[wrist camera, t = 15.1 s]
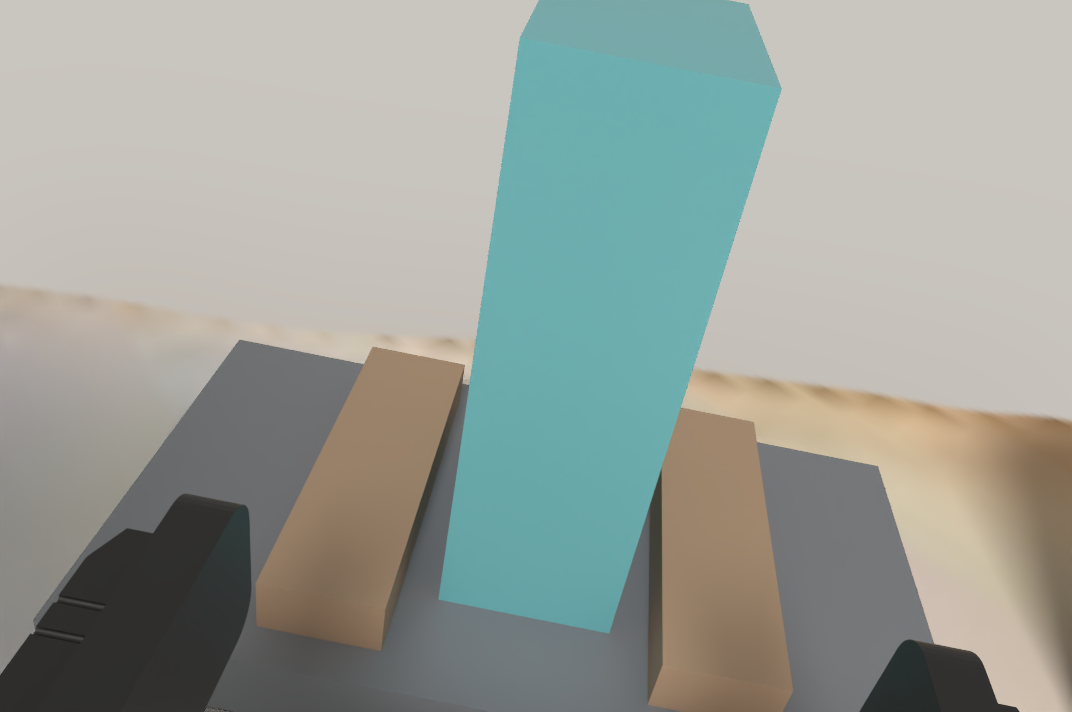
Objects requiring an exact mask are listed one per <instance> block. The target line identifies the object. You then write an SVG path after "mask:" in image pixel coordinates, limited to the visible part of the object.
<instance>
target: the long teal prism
mask: <svg viewBox="0 0 1072 712" xmlns="http://www.w3.org/2000/svg"><path fill="white" fill-rule="evenodd" d="M780 92H781V86H780V84H779V81H778V78H777V76H776V73H775V71H774V68H773V66H772V63H771V60H770V58H769V55H768V53H767V50H766V48H765V45H764V43H763V40H762V38H761V35H760V32H759V30H758V28H757V25H756V22H755V20H754V17H753V15H752V12H751V10H750V7H749V5H748V4H744V3H739V2H734V1H729V0H539V1H538V3H537V5H536V7H535V9H534V11H533V13H532V15H531V17H530V19H529V21H528V23H527V25H526V27H525V29H524V31H523V33H522V35H521V36H520V41H519V47H518V54H517V62H516V68H515V75H514V82H513V89H512V96H511V102H510V110H509V116H508V123H507V130H506V137H505V144H504V151H503V158H502V164H501V172H500V178H499V186H498V192H497V199H496V206H495V213H494V220H493V227H492V233H491V241H490V247H489V254H488V261H487V269H486V275H485V282H484V289H483V296H482V302H481V309H480V316H479V323H478V330H477V337H476V343H475V350H474V357H473V364H472V371H471V378H470V385H469V392H468V399H467V405H466V412H465V419H464V426H463V433H462V440H461V447H460V454H459V460H458V467H457V474H456V481H455V488H454V495H453V502H452V509H451V516H450V522H449V529H448V536H447V543H446V550H445V557H444V564H443V571H442V577H441V584H440V591H439V598H438V600H443V601H448V602H453V603H458V604H463V605H468V606H473V607H478V608H483V609H488V610H493V611H498V612H503V613H508V614H513V615H519V616H524V617H529V618H534V619H539V620H544V621H549V622H554V623H559V624H564V625H569V626H574V627H579V628H584V629H589V630H594V631H599V632H604V633H609V632H610V629H611V626H612V623H613V620H614V617H615V613H616V610H617V607H618V604H619V601H620V598H621V595H622V591H623V588H624V585H625V582H626V579H627V576H628V572H629V569H630V566H631V563H632V560H633V557H634V553H635V550H636V547H637V544H638V541H639V538H640V534H641V531H642V528H643V525H644V522H645V519H646V516H647V512H648V509H649V506H650V503H651V500H652V497H653V493H654V490H655V487H656V484H657V481H658V478H659V474H660V471H661V468H662V465H663V462H664V459H665V455H666V452H667V449H668V446H669V443H670V440H671V437H672V433H673V430H674V427H675V424H676V421H677V418H678V414H679V411H680V408H681V405H682V402H683V399H684V395H685V392H686V389H687V386H688V383H689V380H690V376H691V373H692V370H693V367H694V364H695V361H696V357H697V354H698V351H699V348H700V345H701V342H702V338H703V335H704V332H705V329H706V326H707V323H708V319H709V316H710V313H711V310H712V307H713V304H714V301H715V297H716V294H717V291H718V288H719V285H720V281H721V278H722V275H723V272H724V269H725V266H726V263H727V260H728V256H729V253H730V250H731V247H732V244H733V241H734V237H735V234H736V231H737V228H738V225H739V222H740V219H741V215H742V212H743V209H744V205H745V203H746V199H747V196H748V193H749V190H750V187H751V184H752V181H753V177H754V174H755V171H756V168H757V165H758V162H759V158H760V155H761V152H762V149H763V146H764V142H765V140H766V136H767V133H768V130H769V127H770V124H771V121H772V117H773V114H774V111H775V108H776V105H777V102H778V98H779V95H780Z"/></svg>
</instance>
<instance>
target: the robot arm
mask: <svg viewBox="0 0 1072 712" xmlns="http://www.w3.org/2000/svg"><path fill="white" fill-rule="evenodd" d="M251 587H252V585H251V552H250V519H249V511H248V508H247V506H246V505H242V504H237V503H232V502H227V501H222V500H217V499H212V498H207V497H202V496H197V495H192V494H186V493H185V494H182V495H180V496H179V497H178V498H177V499H176V500H175V501H174V503H173V504H172V506H171V507H170V509H169V510H168V512H167V513H166V515H165V516H164V518H163V519H162V521H161V522H160V524H159V525H158V527H157V528H156V530H155V531H154V533H149V532H144V531H139V530H134V529H129V528H126V529H125V530H124V531H122V532H121V533H119V534H118V535H117V536H115V537H114V538H112V539H111V540H110V541H108V542H107V543H105V544H104V545H102V546H101V547H100V548H98V549H97V550H95V551H94V552H93V553H91V554H90V555H88V556H87V557H86V558H85V559H84V561H83V562H82V564H81V565H80V566H79V568H78V569H77V570H76V572H75V573H74V575H73V576H72V577H71V579H70V580H69V581H68V583H67V584H66V586H65V587H64V588H63V590H62V591H61V592H60V594H59V598H58V601H57V602H53V603H52V605H51V606H50V608H49V609H48V610H47V612H46V613H45V614H44V616H43V617H42V619H41V620H40V621H39V623H38V624H37V625H36V630H35V632H34V634H30V635H29V636H28V638H27V639H26V640H25V642H24V643H23V645H22V646H21V647H20V649H19V650H18V651H17V653H16V654H15V656H14V657H13V658H12V660H11V661H10V662H9V664H8V665H7V667H6V668H5V669H4V671H3V672H2V673H1V675H0V712H204V711H205V708H206V706H207V704H208V702H209V700H210V698H211V696H212V694H213V692H214V690H215V688H216V686H217V684H218V682H219V679H220V677H221V675H222V673H223V671H224V669H225V667H226V665H227V663H228V661H229V659H230V657H231V655H232V652H233V650H234V648H235V646H236V644H237V642H238V640H239V638H240V635H241V633H242V630H243V627H244V624H245V621H246V617H247V614H248V610H249V605H250V599H251ZM860 712H1019V710H1018V709H1017V708H1016V707H1012V706H1007V705H1002V704H998V703H997V700H996V697H995V695H994V692H993V689H992V686H991V684H990V681H989V678H988V676H987V673H986V670H985V668H984V665H983V663H982V661H981V660H980V658H979V657H978V656H977V655H976V654H975V653H973V652H971V651H966V650H961V649H956V648H951V647H946V646H941V645H936V644H931V643H926V642H921V641H916V640H911V639H909V640H905V641H903V642H902V643H901V644H900V645H899V647H898V648H897V650H896V652H895V653H894V655H893V656H892V658H891V660H890V661H889V663H888V665H887V666H886V668H885V670H884V671H883V673H882V675H881V676H880V678H879V680H878V681H877V683H876V685H875V686H874V688H873V690H872V691H871V693H870V695H869V696H868V698H867V700H866V701H865V703H864V705H863V706H862V708H861V710H860Z"/></svg>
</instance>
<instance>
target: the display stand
mask: <svg viewBox="0 0 1072 712" xmlns="http://www.w3.org/2000/svg"><path fill="white" fill-rule="evenodd" d="M464 367H465V365H462V364H457V363H452V362H447V361H442V360H437V359H432V358H427V357H422V356H417V355H412V354H407V353H402V352H397V351H392V350H387V349H382V348H377V347H372V349H371V351H370V353H369V355H368V358H367V360H366V362H365V364H359V363H354V362H349V361H344V360H339V359H334V358H329V357H324V356H319V355H314V354H309V353H304V352H299V351H294V350H288V349H283V348H278V347H273V346H268V345H263V344H258V343H253V342H248V341H243V340H239V341H238V343H237V344H236V345H235V347H234V348H233V349H232V351H231V352H230V353H229V355H228V356H227V357H226V359H225V360H224V362H223V363H222V364H221V366H220V367H219V368H218V370H217V371H216V372H215V374H214V375H213V376H212V378H211V379H210V381H209V382H208V383H207V385H206V386H205V387H204V389H203V390H202V391H201V393H200V394H199V395H198V397H197V398H196V400H195V401H194V402H193V404H192V405H191V406H190V408H189V409H188V410H187V412H186V413H185V415H184V416H183V417H182V419H181V420H180V421H179V423H178V424H177V425H176V427H175V428H174V429H173V431H172V432H171V434H170V435H169V436H168V438H167V439H166V440H165V442H164V443H163V444H162V446H161V447H160V448H159V450H158V451H157V453H156V454H155V455H154V457H153V458H152V459H151V461H150V462H149V463H148V465H147V466H146V467H145V469H144V470H143V472H142V473H141V474H140V476H139V477H138V478H137V480H136V481H135V482H134V484H133V485H132V486H131V488H130V489H129V491H128V492H127V493H126V495H125V496H124V497H123V499H122V500H121V501H120V503H119V504H118V505H117V507H116V508H115V510H114V511H113V512H112V514H111V515H110V516H109V518H108V519H107V520H106V522H105V523H104V525H103V526H102V527H101V529H100V530H99V531H98V533H97V534H96V535H95V537H94V538H93V539H92V541H91V542H90V544H89V545H88V546H87V548H86V549H85V550H84V552H83V553H82V554H81V556H80V557H79V558H78V560H77V561H76V563H75V564H74V565H73V567H72V568H71V569H70V571H69V572H68V573H67V575H66V576H65V577H64V579H63V580H62V582H61V583H60V584H59V586H58V587H57V588H56V590H55V591H54V592H53V594H52V595H51V596H50V598H49V599H48V601H47V602H46V603H45V605H44V606H43V607H42V609H41V610H40V611H39V613H38V614H37V615H36V617H35V618H34V620H33V621H34V625H35V629H36V625H37V624H38V623H39V621H40V620H41V619H42V617H43V616H44V614H45V613H46V612H47V610H48V609H49V608H50V606H51V605H52V603H53V602H57V601H58V598H59V594H60V592H61V591H62V590H63V588H64V587H65V586H66V584H67V583H68V581H69V580H70V579H71V577H72V576H73V575H74V573H75V572H76V570H77V569H78V568H79V566H80V565H81V564H82V562H83V561H84V559H85V558H86V557H87V556H88V555H90V554H91V553H93V552H94V551H95V550H97V549H98V548H100V547H101V546H102V545H104V544H105V543H107V542H108V541H110V540H111V539H112V538H114V537H115V536H117V535H118V534H119V533H121V532H122V531H124V530H125V529H126V528H129V529H134V530H139V531H144V532H149V533H154V531H155V530H156V528H157V527H158V525H159V524H160V522H161V521H162V519H163V518H164V516H165V515H166V513H167V512H168V510H169V509H170V507H171V506H172V504H173V503H174V501H175V500H176V499H177V498H178V497H179V496H180V495H182V494H185V493H186V494H192V495H197V496H202V497H207V498H212V499H217V500H222V501H227V502H232V503H237V504H242V505H246V506H247V508H248V511H249V519H250V552H251V585H252V587H251V599H250V605H249V610H248V614H247V617H246V621H245V624H244V627H243V630H242V633H241V635H240V638H239V640H238V642H237V644H236V646H235V648H234V650H233V652H232V655H231V657H230V659H229V661H228V663H227V665H226V667H225V669H224V671H223V673H222V675H221V677H220V679H219V682H218V684H217V686H216V688H215V690H214V692H213V694H212V696H211V698H210V700H209V702H208V704H207V707H212V708H217V709H222V710H227V711H232V712H860V710H861V708H862V706H863V705H864V703H865V701H866V700H867V698H868V696H869V695H870V693H871V691H872V690H873V688H874V686H875V685H876V683H877V681H878V680H879V678H880V676H881V675H882V673H883V671H884V670H885V668H886V666H887V665H888V663H889V661H890V660H891V658H892V656H893V655H894V653H895V652H896V650H897V648H898V647H899V645H900V644H901V643H902V642H903V641H905V640H909V639H911V640H916V641H921V642H926V643H931V644H934V642H933V639H932V636H931V633H930V630H929V626H928V623H927V620H926V617H925V614H924V611H923V607H922V604H921V601H920V598H919V595H918V592H917V588H916V585H915V582H914V579H913V576H912V573H911V570H910V566H909V563H908V560H907V557H906V554H905V551H904V547H903V544H902V541H901V538H900V535H899V532H898V528H897V525H896V522H895V519H894V516H893V513H892V510H891V506H890V503H889V500H888V497H887V494H886V491H885V487H884V484H883V481H882V478H881V475H880V472H879V468H878V466H874V465H869V464H864V463H859V462H854V461H849V460H843V459H838V458H833V457H828V456H823V455H818V454H813V453H808V452H803V451H798V450H793V449H788V448H783V447H778V446H773V445H768V444H763V443H758V442H757V441H756V434H755V428H754V422H750V421H745V420H740V419H735V418H730V417H725V416H720V415H715V414H710V413H705V412H700V411H695V410H690V409H685V408H680V411H679V414H678V418H677V421H676V424H675V427H674V430H673V433H672V437H671V440H670V443H669V446H668V449H667V452H666V455H665V459H664V462H663V465H662V468H661V471H660V474H659V478H658V481H657V484H656V487H655V490H654V493H653V497H652V500H651V503H650V506H649V509H648V512H647V516H646V519H645V522H644V525H643V528H642V531H641V534H640V538H639V541H638V544H637V547H636V550H635V553H634V557H633V560H632V563H631V566H630V569H629V572H628V576H627V579H626V582H625V585H624V588H623V591H622V595H621V598H620V601H619V604H618V607H617V610H616V613H615V617H614V620H613V623H612V626H611V629H610V632H609V633H604V632H599V631H594V630H589V629H584V628H579V627H574V626H569V625H564V624H559V623H554V622H549V621H544V620H539V619H534V618H529V617H524V616H519V615H513V614H508V613H503V612H498V611H493V610H488V609H483V608H478V607H473V606H468V605H463V604H458V603H453V602H448V601H443V600H438V598H439V591H440V584H441V577H442V571H443V564H444V557H445V550H446V543H447V536H448V529H449V522H450V516H451V509H452V502H453V495H454V488H455V481H456V474H457V467H458V460H459V454H460V447H461V440H462V433H463V426H464V419H465V412H466V405H467V399H468V392H469V385H465V384H462V381H463V374H464Z"/></svg>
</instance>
